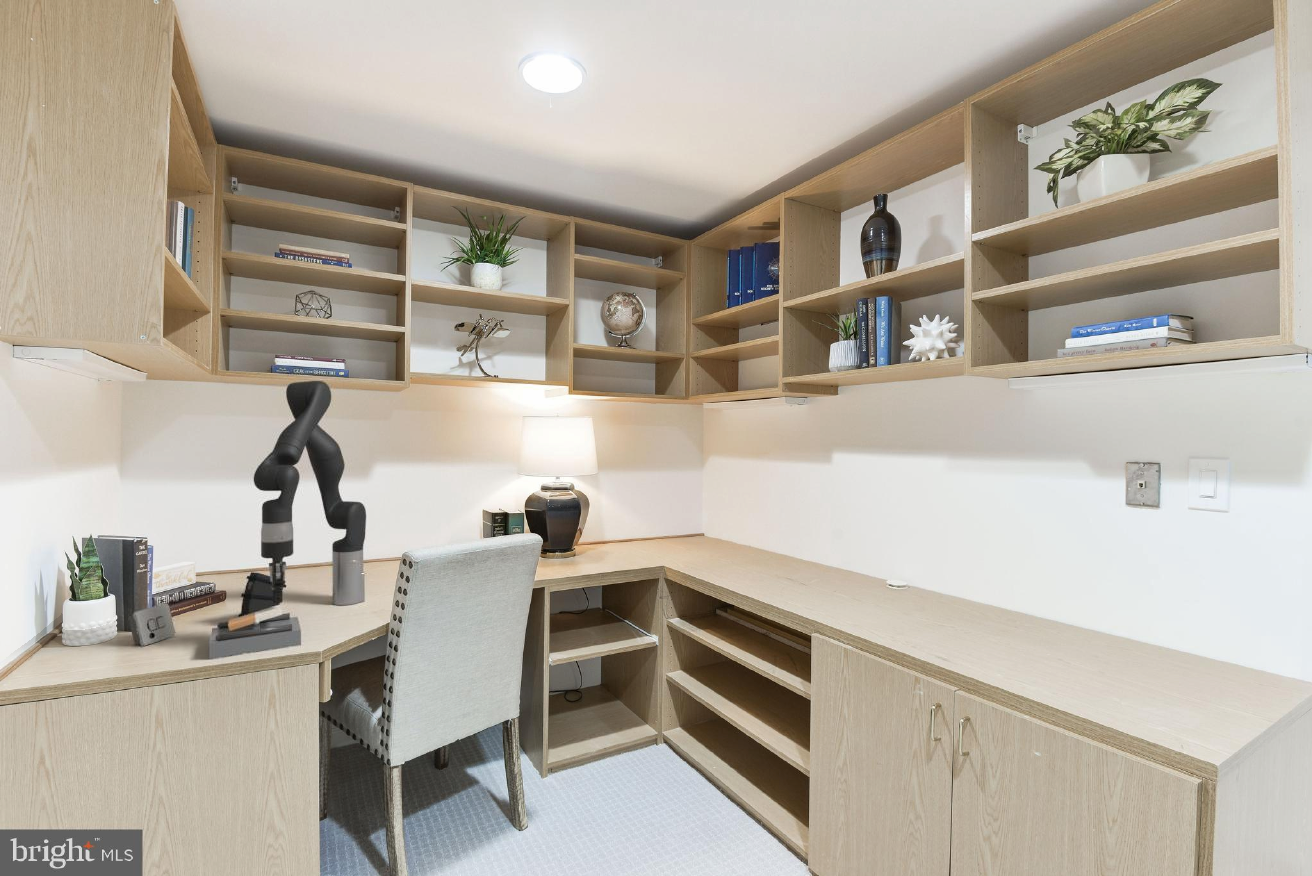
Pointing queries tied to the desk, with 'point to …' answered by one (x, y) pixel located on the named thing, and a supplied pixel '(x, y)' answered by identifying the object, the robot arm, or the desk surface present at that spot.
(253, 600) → the magazine
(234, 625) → the breaker rocker
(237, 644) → the grey low boxy piece
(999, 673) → the desk surface
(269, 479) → the robot arm
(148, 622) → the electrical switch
